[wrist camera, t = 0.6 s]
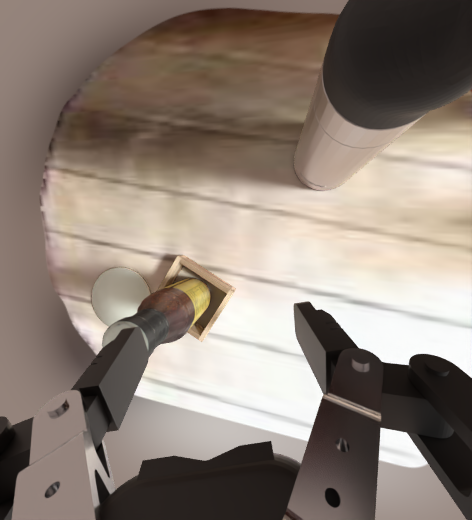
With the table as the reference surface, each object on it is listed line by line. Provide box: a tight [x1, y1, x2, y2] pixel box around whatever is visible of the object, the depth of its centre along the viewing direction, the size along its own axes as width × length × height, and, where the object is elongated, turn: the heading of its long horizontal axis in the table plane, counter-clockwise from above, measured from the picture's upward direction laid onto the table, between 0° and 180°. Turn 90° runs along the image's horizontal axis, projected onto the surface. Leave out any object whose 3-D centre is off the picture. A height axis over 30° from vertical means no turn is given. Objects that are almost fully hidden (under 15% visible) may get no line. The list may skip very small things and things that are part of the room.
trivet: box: [92, 267, 151, 327], centre depth 39 cm, size 11×11×1 cm
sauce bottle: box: [102, 278, 211, 358], centre depth 27 cm, size 7×6×20 cm
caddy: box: [157, 255, 236, 342], centre depth 36 cm, size 9×10×3 cm
